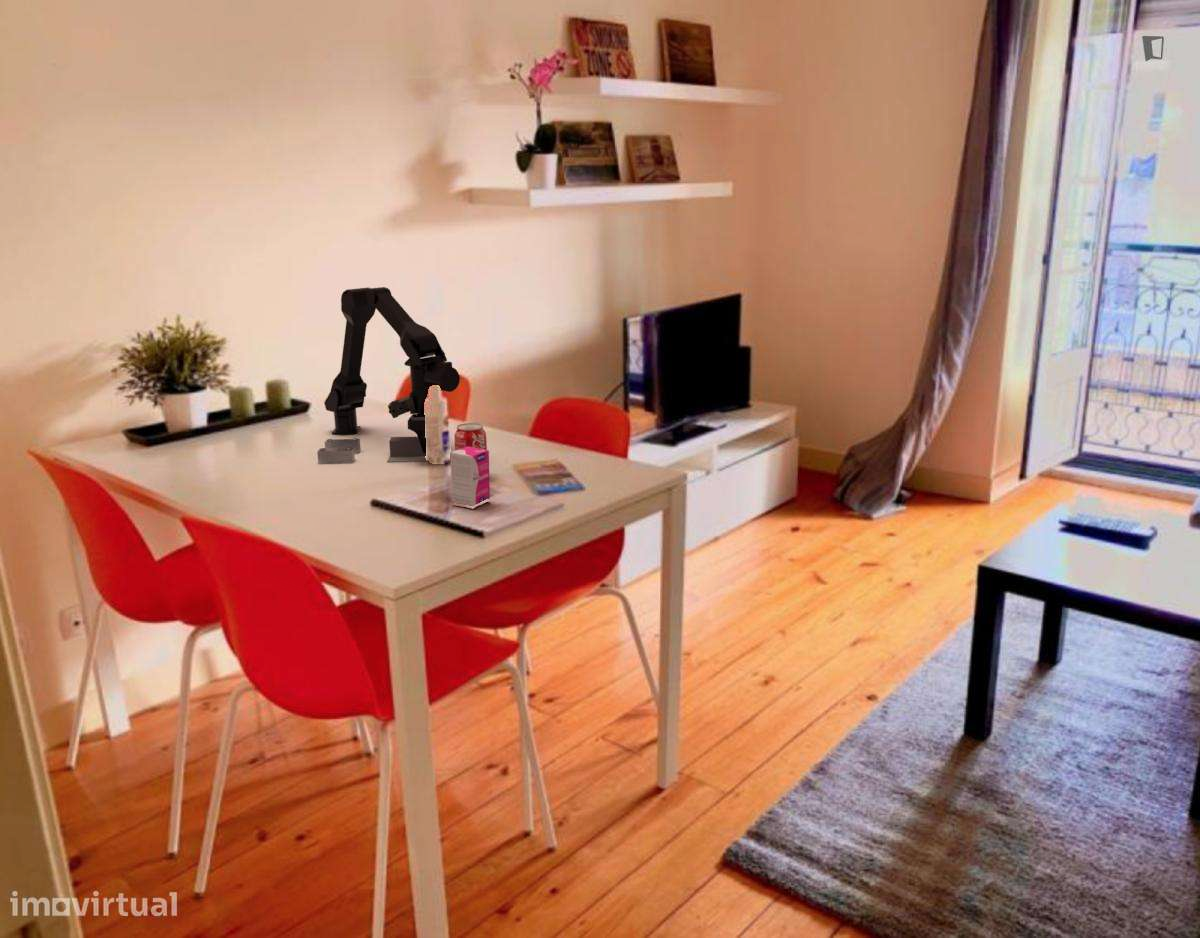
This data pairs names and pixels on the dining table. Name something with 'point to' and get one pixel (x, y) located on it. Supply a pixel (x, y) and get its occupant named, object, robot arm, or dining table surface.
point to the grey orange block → (405, 447)
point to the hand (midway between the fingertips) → (427, 449)
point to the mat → (406, 459)
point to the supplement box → (470, 476)
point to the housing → (339, 451)
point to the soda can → (470, 436)
